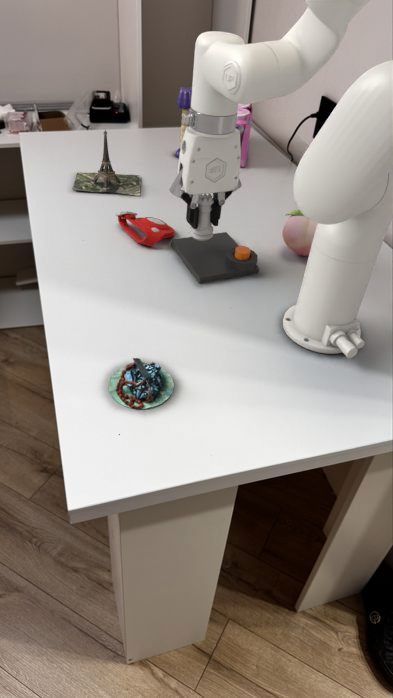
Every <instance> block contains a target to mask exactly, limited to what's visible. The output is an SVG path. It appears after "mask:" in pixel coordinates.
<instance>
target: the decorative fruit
mask: <svg viewBox="0 0 393 698" xmlns="http://www.w3.org/2000/svg"><path fill="white" fill-rule="evenodd" d="M285 216H289V217H288V218H287V219H286V221H285V222H284V225H283V228H282V236H281V237H282V239H283V242H284V244H285V245H286V246H287V248H288V249H290V251H292V252H293V253H294V254H297V255H298V256H302V257H307V256H309V253H310V249H311V245H312V241H313V238H314V234H315V231H316V227H317V224H318V223H315V222H313V221H311V220H309V219H308V218H306V217H305V216H304V215H303V214H302V213H301V212H300V210H299V209H293V210H291V211H289V212H287V213H286V214H285Z"/></svg>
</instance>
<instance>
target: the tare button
mask: <svg viewBox="0 0 393 698" xmlns="http://www.w3.org/2000/svg"><path fill="white" fill-rule="evenodd" d="M251 250H252V249H250V247H247V246H245V245H239V246H238V247H236V249H235V258H237V259H239V260H248V259H249V258H250V252H251Z"/></svg>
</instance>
